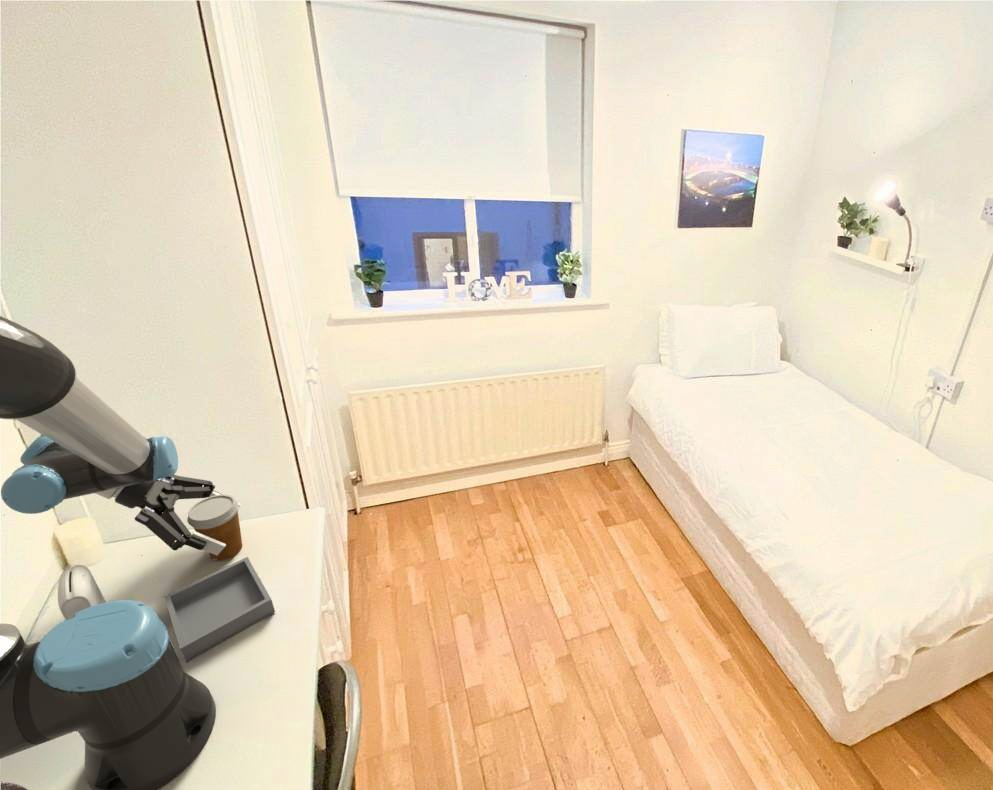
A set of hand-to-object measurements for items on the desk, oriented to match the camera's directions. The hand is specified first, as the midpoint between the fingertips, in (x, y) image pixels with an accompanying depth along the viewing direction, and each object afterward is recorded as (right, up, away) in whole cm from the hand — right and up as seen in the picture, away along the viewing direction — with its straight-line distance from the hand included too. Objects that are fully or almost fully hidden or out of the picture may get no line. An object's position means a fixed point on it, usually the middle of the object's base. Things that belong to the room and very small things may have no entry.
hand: (229, 528), depth 99 cm
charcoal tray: (+6, -12, -13) cm, 19 cm away
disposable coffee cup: (-2, -6, +2) cm, 6 cm away
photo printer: (-15, -14, -16) cm, 26 cm away
